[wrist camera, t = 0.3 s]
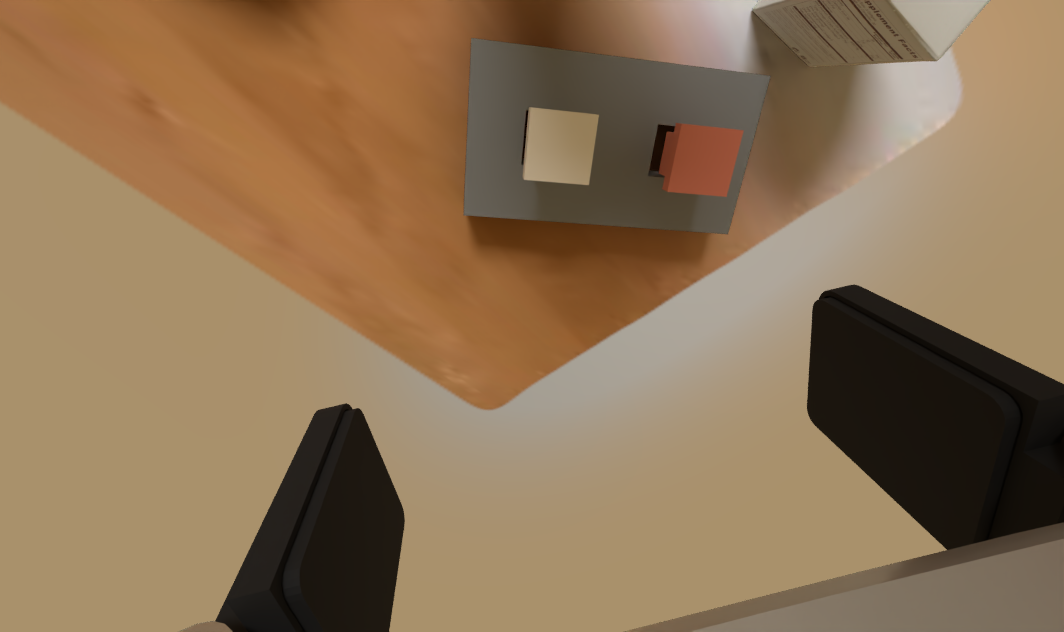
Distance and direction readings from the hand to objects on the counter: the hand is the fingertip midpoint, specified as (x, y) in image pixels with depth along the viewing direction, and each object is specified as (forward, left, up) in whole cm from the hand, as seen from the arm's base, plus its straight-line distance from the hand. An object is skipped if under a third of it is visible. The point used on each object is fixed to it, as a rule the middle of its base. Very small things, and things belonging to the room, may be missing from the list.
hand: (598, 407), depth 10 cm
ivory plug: (-3, +3, -29) cm, 29 cm away
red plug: (-3, +13, -29) cm, 32 cm away
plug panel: (-3, +8, -34) cm, 35 cm away
